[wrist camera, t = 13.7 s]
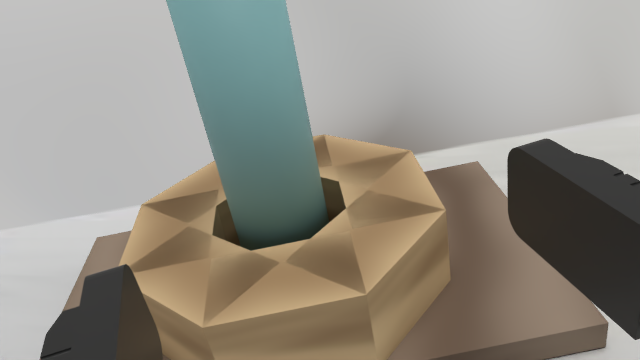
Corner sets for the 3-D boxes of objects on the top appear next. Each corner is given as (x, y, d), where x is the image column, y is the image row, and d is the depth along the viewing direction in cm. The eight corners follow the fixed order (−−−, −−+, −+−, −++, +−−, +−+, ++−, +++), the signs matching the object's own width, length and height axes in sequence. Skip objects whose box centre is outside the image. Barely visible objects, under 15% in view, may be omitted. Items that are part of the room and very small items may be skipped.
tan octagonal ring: (123, 421, 19) (86, 351, 17) (175, 222, 30) (155, 168, 29) (484, 348, 19) (482, 271, 17) (400, 176, 30) (393, 120, 29)
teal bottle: (251, 309, 23) (119, -112, 15) (252, 254, 26) (145, -111, 19) (343, 291, 23) (258, -139, 15) (332, 238, 26) (258, -134, 19)
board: (14, 466, 19) (-2, 446, 19) (104, 254, 31) (97, 237, 30) (605, 347, 20) (608, 322, 19) (478, 179, 31) (477, 161, 30)
